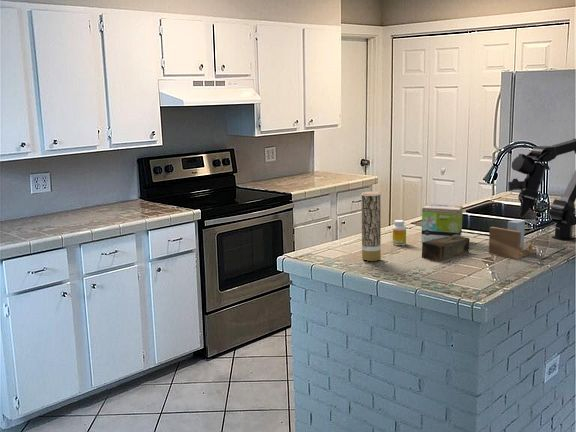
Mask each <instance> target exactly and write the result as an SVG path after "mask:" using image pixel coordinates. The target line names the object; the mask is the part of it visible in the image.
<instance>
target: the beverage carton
mask: <svg viewBox="0 0 576 432" xmlns="http://www.w3.org/2000/svg"><path fill="white" fill-rule="evenodd" d="M421 243H422V244H421V258H423V259H426V258H427V260H430V261H434V262H440V261H444V260H447V259H452V258H455V257H457V256H461V255H465V254H468V253H469V251H470V238H469V237H466V236H459V235H452V236H447V237H443V238H438V239H434V240H429V241H425V242H422V241H421Z"/></svg>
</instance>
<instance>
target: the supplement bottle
mask: <svg viewBox="0 0 576 432" xmlns="http://www.w3.org/2000/svg"><path fill="white" fill-rule="evenodd" d="M393 221H394V222H393V224H394V225H393V226H392V245H393V244H395V245H394V246H396V245H402V246H405V245H404V244H407V227H406V226H405V220H402V219H395V220H393Z"/></svg>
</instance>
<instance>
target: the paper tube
mask: <svg viewBox="0 0 576 432" xmlns="http://www.w3.org/2000/svg"><path fill="white" fill-rule="evenodd" d="M381 215H382V213H381V192H380V191H364V192H361V258H362V261H364V260H367V261H366V262H368V261H375V262H378V261H377V260H379V261H380V260H381V256H382V255H381V254H382V253H381V251H382V250H381V247H382V246H381V245H382V244H381V241H382V240H381V239H382V238H381V232H382V231H381V230H382V229H381V219H382V217H381Z"/></svg>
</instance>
